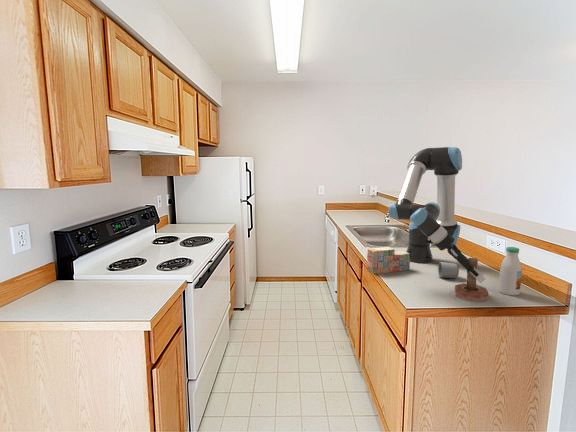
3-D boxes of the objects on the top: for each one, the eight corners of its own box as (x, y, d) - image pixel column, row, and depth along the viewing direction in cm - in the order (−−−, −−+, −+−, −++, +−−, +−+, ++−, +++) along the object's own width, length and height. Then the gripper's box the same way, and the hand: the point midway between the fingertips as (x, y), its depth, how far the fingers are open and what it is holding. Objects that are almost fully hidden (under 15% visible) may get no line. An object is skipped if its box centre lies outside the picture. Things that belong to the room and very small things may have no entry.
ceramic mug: (459, 280, 164) (460, 264, 163) (441, 279, 166) (441, 264, 165) (452, 273, 175) (453, 259, 174) (435, 273, 176) (436, 258, 175)
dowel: (465, 293, 148) (467, 257, 146) (474, 294, 147) (477, 258, 145) (466, 296, 145) (468, 259, 143) (476, 297, 144) (478, 260, 142)
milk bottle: (510, 297, 143) (514, 250, 140) (494, 290, 151) (497, 246, 148) (524, 294, 146) (528, 249, 142) (508, 288, 153) (511, 245, 150)
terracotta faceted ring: (453, 288, 154) (453, 282, 153) (483, 291, 150) (484, 285, 149) (456, 298, 143) (457, 292, 142) (489, 302, 139) (490, 295, 138)
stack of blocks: (403, 267, 187) (404, 245, 185) (409, 270, 180) (410, 248, 179) (367, 270, 182) (367, 248, 180) (372, 274, 176) (372, 251, 174)
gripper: (432, 239, 156) (470, 277, 153) (435, 249, 139) (478, 291, 137) (446, 228, 154) (485, 266, 151) (450, 237, 137) (494, 280, 134)
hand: (481, 278), depth 144 cm, fingers open, 5 cm apart
